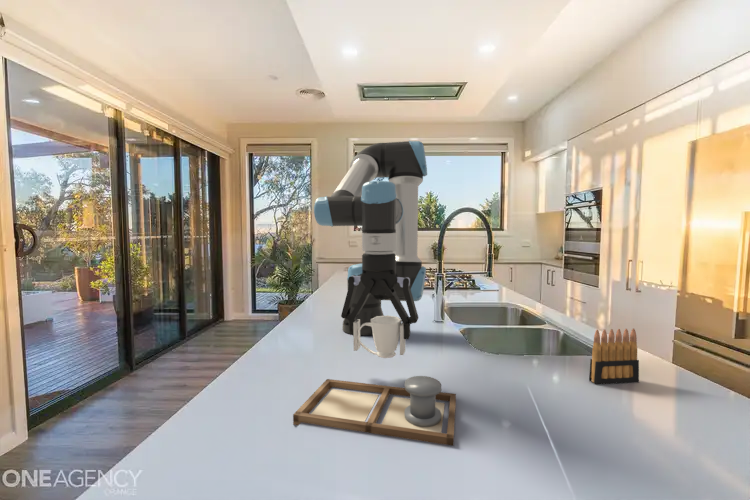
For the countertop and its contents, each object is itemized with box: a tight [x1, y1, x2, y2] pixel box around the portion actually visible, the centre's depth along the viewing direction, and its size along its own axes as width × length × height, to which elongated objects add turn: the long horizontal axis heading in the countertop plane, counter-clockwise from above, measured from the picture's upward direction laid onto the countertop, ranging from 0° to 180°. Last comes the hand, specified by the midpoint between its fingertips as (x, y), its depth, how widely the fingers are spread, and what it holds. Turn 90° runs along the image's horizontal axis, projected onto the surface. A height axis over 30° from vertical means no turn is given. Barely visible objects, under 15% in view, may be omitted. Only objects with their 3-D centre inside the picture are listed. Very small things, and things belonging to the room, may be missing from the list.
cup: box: [357, 315, 402, 359], centre depth 76 cm, size 7×10×8 cm
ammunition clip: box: [588, 328, 640, 386], centre depth 76 cm, size 11×2×12 cm, turn 96°
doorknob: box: [404, 375, 442, 427], centre depth 60 cm, size 6×6×6 cm
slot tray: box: [292, 378, 457, 447], centre depth 62 cm, size 15×27×2 cm, turn 75°
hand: (379, 350), depth 77 cm, fingers closed on cup, 10 cm apart
